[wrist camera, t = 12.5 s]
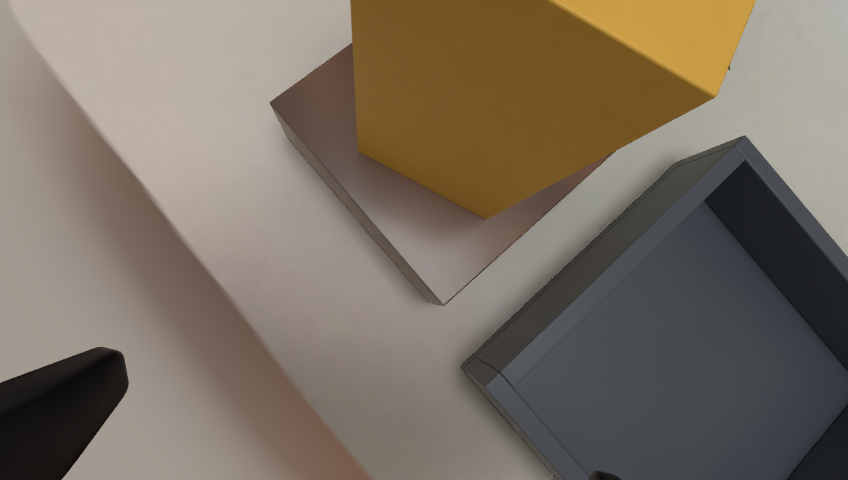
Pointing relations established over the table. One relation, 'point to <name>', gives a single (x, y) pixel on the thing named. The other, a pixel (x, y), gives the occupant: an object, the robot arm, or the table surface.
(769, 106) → the table surface
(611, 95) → the puzzle block
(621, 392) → the tray
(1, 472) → the robot arm
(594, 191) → the table surface
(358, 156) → the square wooden tile
